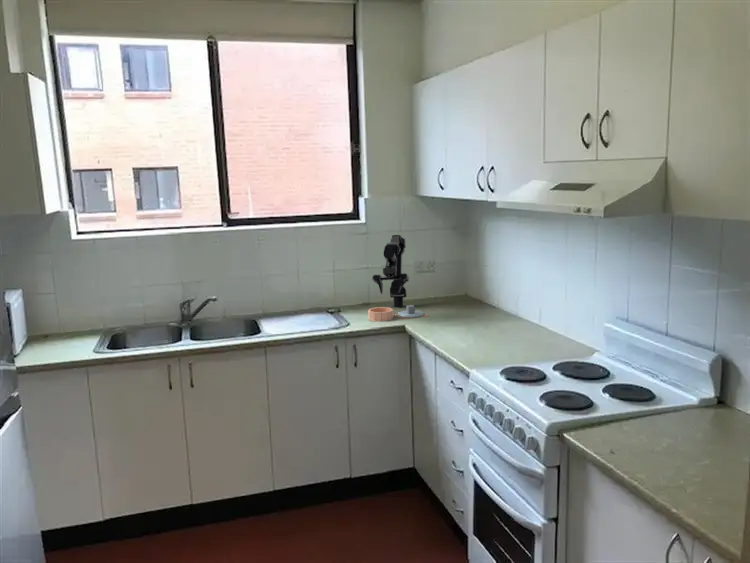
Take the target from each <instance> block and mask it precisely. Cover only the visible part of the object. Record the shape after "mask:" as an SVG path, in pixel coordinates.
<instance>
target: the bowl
mask: <svg viewBox="0 0 750 563" xmlns="http://www.w3.org/2000/svg"><path fill="white" fill-rule="evenodd" d="M393 313H394V308H393V307H388V306H387V307H386V306H379V307H376V306H375V307H370V308H369V309H368V310H367V314H368V315H367V318H368V321H370V322H388V321H391V320H393V319H394V314H393Z"/></svg>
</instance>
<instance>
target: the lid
mask: <svg viewBox="0 0 750 563" xmlns="http://www.w3.org/2000/svg"><path fill="white" fill-rule="evenodd" d="M405 308H406V310H401V311H399V312H397V313H398V316H399V317H403V318H414V319H418V318H417V317H421V316H423V315H424V313H425V312H424V311H422V310H419V311H418V310H417V309H416V310H415V308H416V306H415V305H413V304H410V305H406V307H405Z"/></svg>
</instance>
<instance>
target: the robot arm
mask: <svg viewBox="0 0 750 563" xmlns="http://www.w3.org/2000/svg"><path fill="white" fill-rule="evenodd" d="M406 246H407V241H406V238H404V237H403V236H402V235H401V234H393V235H391V238H390V241H389V242H387V243H386V245H385V246H384V249H383V257H384V259H385V261H386V262H385V266H384V267H383V268H382V275H384V276H382V275H381V274H373V275H372V281H373V282H374V283H375V284H377V285H378V288H379V291H380V294H381V295H383V293H384V292H383V291H384V289H383V287H384V284H383V281H391V284H390V287H389V296H390V298H392V299H393V305H391V308H403V307H404V298H407V289H406V287H405V284H407V283H408V282H409V281H410V277H409V275H408V274H407V273H402V270H403V268H402V266H403V265H402V264H403V255H404V253H405V252H406V248H407V247H406Z"/></svg>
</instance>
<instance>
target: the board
mask: <svg viewBox="0 0 750 563" xmlns="http://www.w3.org/2000/svg"><path fill="white" fill-rule="evenodd" d="M418 311H420V310H418ZM423 313H424V315H423V316H421V317H417V318H416V319H421V318H429V317H430V315H428V314H426V313H425V312H423ZM393 316H395V317H397V318H398V319H399V320H401V321H403V320H413V319H415V318H403V317H399V316H398V312H393Z"/></svg>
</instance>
